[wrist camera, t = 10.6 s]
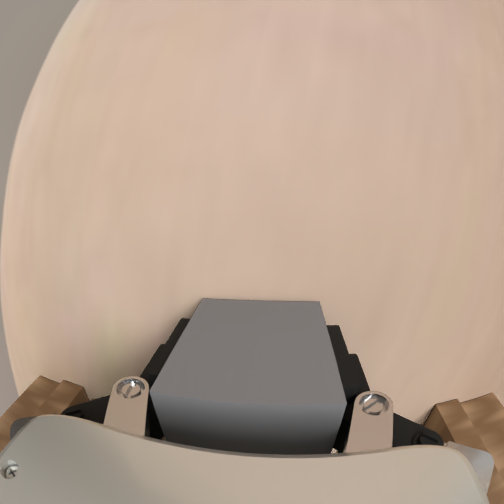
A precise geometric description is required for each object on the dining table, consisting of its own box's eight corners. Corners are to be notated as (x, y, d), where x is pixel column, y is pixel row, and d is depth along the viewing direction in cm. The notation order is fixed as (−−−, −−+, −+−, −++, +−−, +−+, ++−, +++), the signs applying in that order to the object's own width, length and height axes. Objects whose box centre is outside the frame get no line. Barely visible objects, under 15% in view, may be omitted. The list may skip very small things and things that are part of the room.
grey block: (319, 301, 12) (346, 402, 6) (294, 464, 15) (294, 535, 9) (202, 298, 12) (149, 391, 6) (222, 460, 16) (207, 529, 10)
